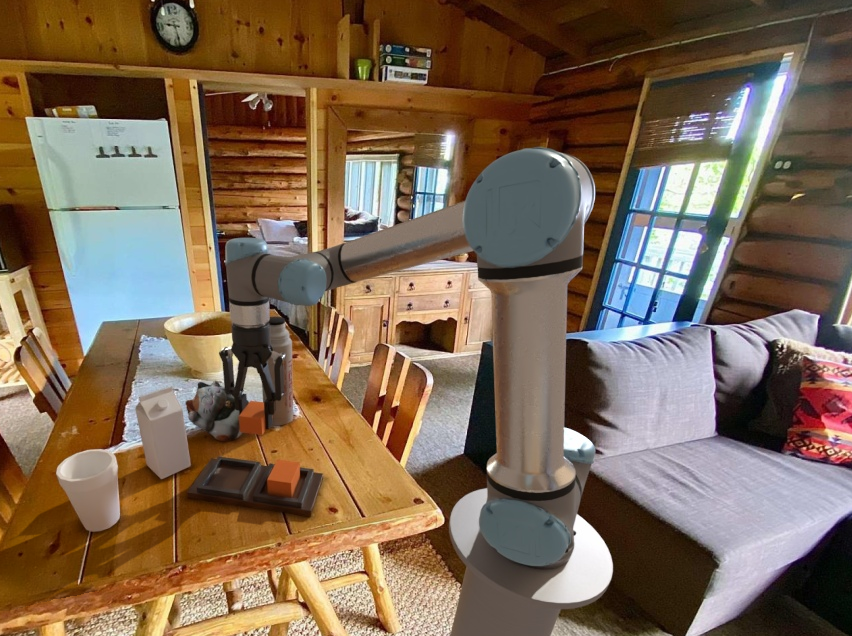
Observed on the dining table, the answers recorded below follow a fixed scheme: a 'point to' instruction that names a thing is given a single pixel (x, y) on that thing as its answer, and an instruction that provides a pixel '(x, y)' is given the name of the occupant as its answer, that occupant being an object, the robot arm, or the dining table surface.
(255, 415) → the pad
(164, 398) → the milk carton
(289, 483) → the pad
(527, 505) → the robot arm
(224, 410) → the lucky cat figurine
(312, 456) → the dining table surface
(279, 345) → the thermos bottle
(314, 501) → the dark grey divided tray
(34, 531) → the dining table surface
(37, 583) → the dining table surface
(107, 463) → the foam cup
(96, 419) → the dining table surface
